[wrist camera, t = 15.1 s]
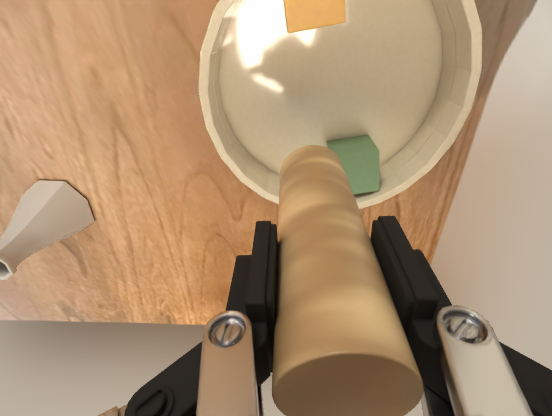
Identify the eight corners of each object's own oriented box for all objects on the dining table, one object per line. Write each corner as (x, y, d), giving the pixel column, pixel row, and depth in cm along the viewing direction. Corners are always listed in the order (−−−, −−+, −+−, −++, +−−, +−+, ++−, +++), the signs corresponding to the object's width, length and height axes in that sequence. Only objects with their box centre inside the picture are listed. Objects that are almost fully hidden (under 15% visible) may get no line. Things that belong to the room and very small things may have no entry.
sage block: (368, 133, 29) (379, 150, 26) (369, 171, 31) (379, 191, 28) (326, 140, 30) (331, 157, 26) (329, 177, 32) (335, 197, 28)
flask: (68, 170, 33) (-6, 226, 24) (106, 223, 36) (54, 288, 28) (12, 187, 34) (-77, 245, 26) (55, 237, 38) (-10, 302, 29)
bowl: (475, -80, 22) (528, -104, 17) (422, 179, 33) (446, 207, 28) (190, -51, 23) (166, -66, 18) (231, 190, 34) (223, 219, 29)
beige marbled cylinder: (345, 142, 16) (439, 351, 6) (342, 200, 18) (410, 431, 8) (277, 146, 17) (265, 354, 7) (281, 203, 19) (277, 431, 8)
